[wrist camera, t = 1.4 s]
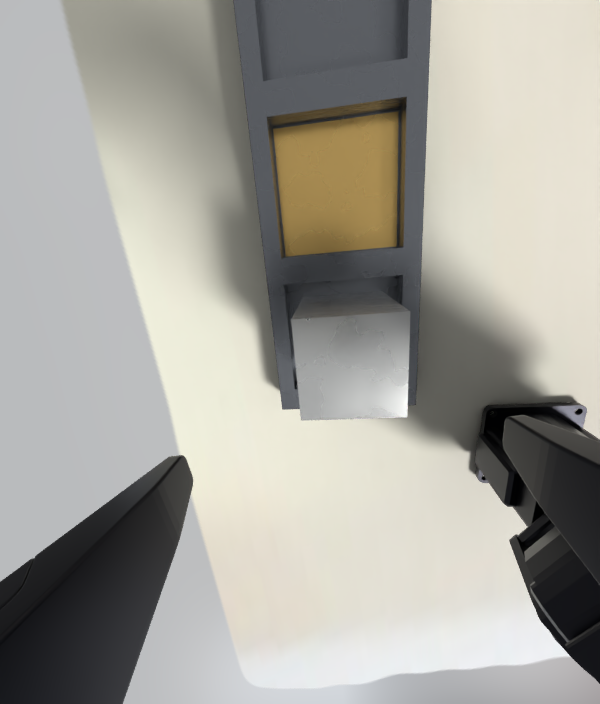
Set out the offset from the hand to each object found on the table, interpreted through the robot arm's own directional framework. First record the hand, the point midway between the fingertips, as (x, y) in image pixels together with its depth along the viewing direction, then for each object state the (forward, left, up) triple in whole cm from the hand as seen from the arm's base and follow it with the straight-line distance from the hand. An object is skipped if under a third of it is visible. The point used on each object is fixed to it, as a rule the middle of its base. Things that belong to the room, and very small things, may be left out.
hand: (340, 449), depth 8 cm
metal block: (-1, 0, -12) cm, 12 cm away
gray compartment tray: (-1, -9, -13) cm, 16 cm away
